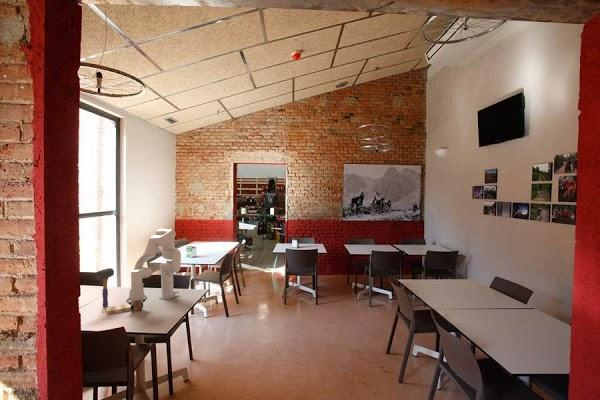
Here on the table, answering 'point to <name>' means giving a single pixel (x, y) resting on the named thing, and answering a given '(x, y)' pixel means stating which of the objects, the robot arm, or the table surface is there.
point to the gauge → (137, 306)
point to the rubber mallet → (104, 282)
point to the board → (118, 309)
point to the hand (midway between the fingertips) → (137, 308)
